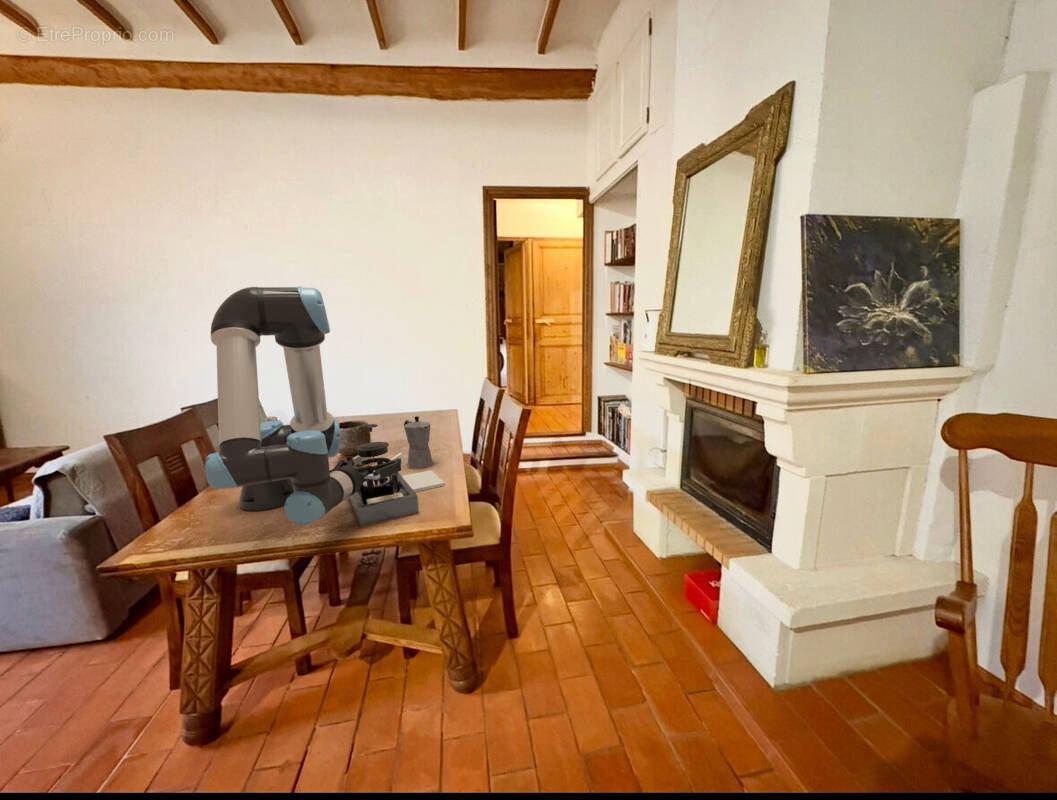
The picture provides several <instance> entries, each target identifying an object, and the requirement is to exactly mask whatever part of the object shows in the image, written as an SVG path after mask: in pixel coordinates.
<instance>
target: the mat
mask: <svg viewBox="0 0 1057 800" xmlns="http://www.w3.org/2000/svg"><path fill="white" fill-rule="evenodd" d="M401 476H402V477H403V479H404V480H405V481H406V482H407V483H408V485H409V486H410V487H411V488H412V489H413V491H414V492H415V493H418V491H419V492H423V491H428V490H432V489H436V487H437V488H441V487H440V486H442V487H445V486H446V484H445V481H444V480H443V479H441V478H440V476H438V475H437V474H436V473H435V472H434V471H433V470H430V469H429V470H426V471H420V472H417V473H416V472H415V473H410V474H405V475H404V474H403V475H401ZM444 485H445V486H444ZM431 488H432V489H431ZM427 489H428V490H427ZM422 490H423V491H422Z"/></svg>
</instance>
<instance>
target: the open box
mask: <svg viewBox="0 0 1057 800" xmlns="http://www.w3.org/2000/svg"><path fill="white" fill-rule="evenodd" d="M398 475H399V484H400V491H399V492H398V493H402V495H403V497H398V498H394V499H389V500H384V501H380V502H375V503H371V504H366V505H364V504H363V502H362V499H361V488H360V489H359V490H358V491H357V492H356V493H354V494H353V495H351V496H350V497H348V499H349V502H350V501H351V502H350V504H351V507H352V506H353V507H352V509H353V511H354V514H355V513H356V514H355V516H356V519H357V518H358V519H357V520H358V523H359V526H360V527H361V528H362V527H365V526H369V525H373V524H379V523H382V522H386V521H390V520H393V519H398V518H402V517H407V516H411V515H415V514H419V512H420V511H419V510H420V509H419V498H418V497H419V496H418V494H417V492H414V491H413V489H412V488H411V487H410V486H409V485H408V483H407V482H406V481H405V480H404V479H403V477H402V476H403V475H401V474H400V472H398ZM388 477H389V476H388ZM392 481H393V489H394V490H395V489H396V490H397V485H396V475H395V473H394V474H392ZM386 486H390V483H389V484H387V485H386ZM366 489H368V488H364V490H366Z"/></svg>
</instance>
